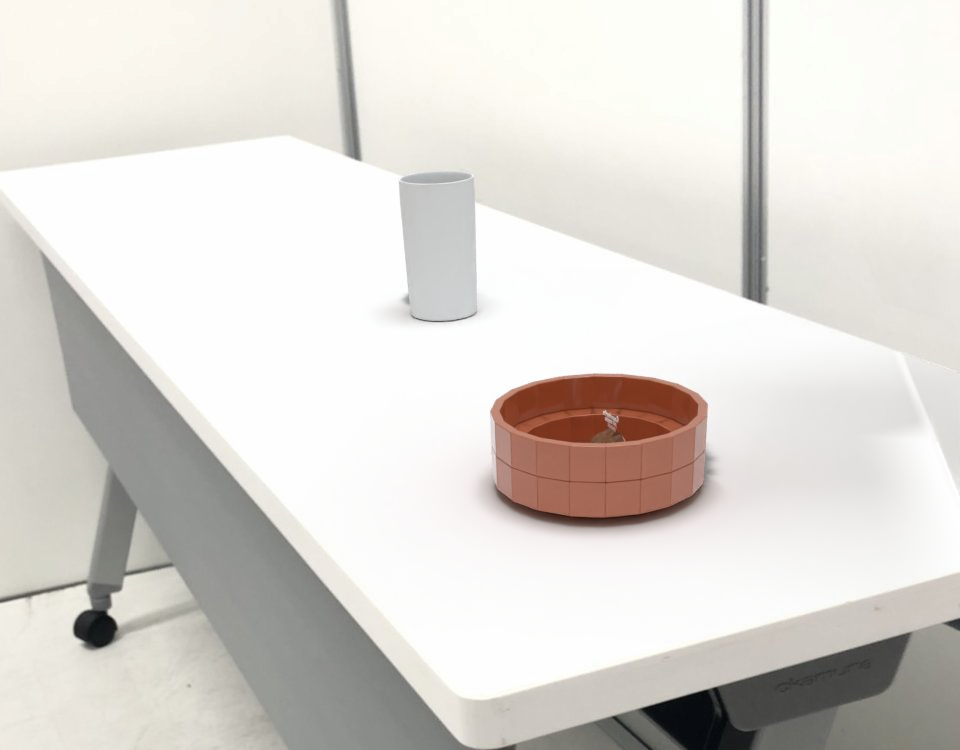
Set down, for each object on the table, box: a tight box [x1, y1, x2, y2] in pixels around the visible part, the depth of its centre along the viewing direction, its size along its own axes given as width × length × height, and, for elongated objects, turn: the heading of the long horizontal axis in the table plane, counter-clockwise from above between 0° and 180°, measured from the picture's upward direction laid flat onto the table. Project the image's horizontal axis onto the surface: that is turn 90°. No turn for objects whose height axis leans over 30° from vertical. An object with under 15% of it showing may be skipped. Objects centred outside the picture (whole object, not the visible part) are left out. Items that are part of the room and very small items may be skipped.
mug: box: [398, 170, 478, 322], centre depth 112 cm, size 10×7×12 cm, turn 164°
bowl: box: [489, 372, 709, 519], centre depth 76 cm, size 13×13×5 cm
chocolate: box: [590, 410, 625, 443], centre depth 76 cm, size 3×2×4 cm
